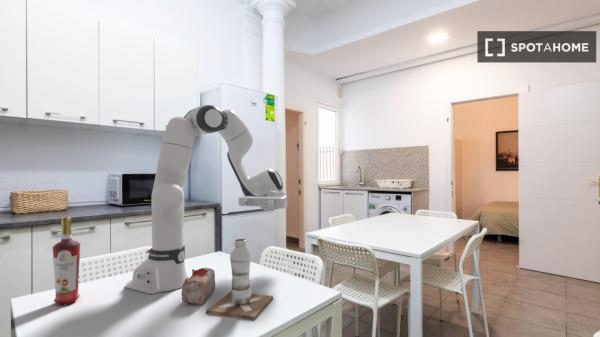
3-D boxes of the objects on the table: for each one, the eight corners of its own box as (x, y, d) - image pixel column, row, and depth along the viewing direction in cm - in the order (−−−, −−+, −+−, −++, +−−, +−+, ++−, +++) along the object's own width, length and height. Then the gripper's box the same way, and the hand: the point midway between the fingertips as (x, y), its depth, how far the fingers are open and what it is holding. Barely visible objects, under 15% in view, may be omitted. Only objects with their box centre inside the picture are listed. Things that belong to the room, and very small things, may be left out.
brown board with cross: (206, 313, 96) (206, 309, 96) (230, 294, 110) (230, 291, 110) (254, 319, 91) (254, 316, 91) (273, 299, 106) (273, 295, 106)
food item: (204, 307, 100) (204, 276, 100) (179, 306, 101) (179, 275, 101) (217, 290, 114) (216, 263, 114) (195, 290, 114) (195, 262, 114)
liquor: (50, 308, 100) (49, 220, 100) (56, 300, 106) (55, 216, 106) (78, 304, 103) (77, 218, 103) (82, 296, 109) (81, 215, 109)
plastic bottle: (247, 308, 97) (246, 242, 97) (226, 306, 98) (226, 242, 98) (254, 299, 103) (254, 238, 103) (235, 297, 104) (234, 237, 104)
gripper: (246, 192, 140) (231, 195, 127) (290, 193, 134) (279, 195, 121) (246, 206, 140) (231, 210, 127) (290, 207, 134) (279, 212, 121)
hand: (255, 203), depth 124 cm, fingers open, 8 cm apart
